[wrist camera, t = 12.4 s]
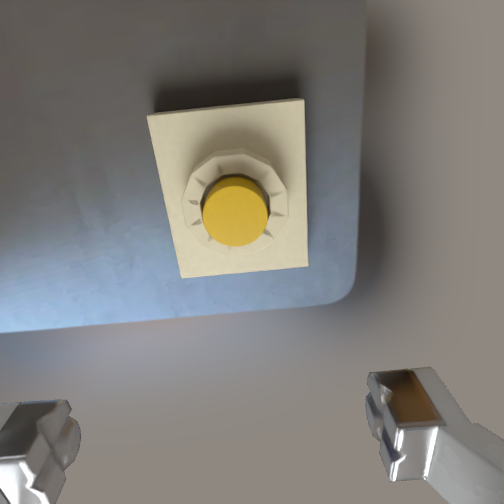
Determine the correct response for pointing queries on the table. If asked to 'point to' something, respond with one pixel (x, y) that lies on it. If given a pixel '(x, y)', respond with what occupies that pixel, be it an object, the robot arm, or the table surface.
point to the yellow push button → (235, 212)
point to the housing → (234, 165)
